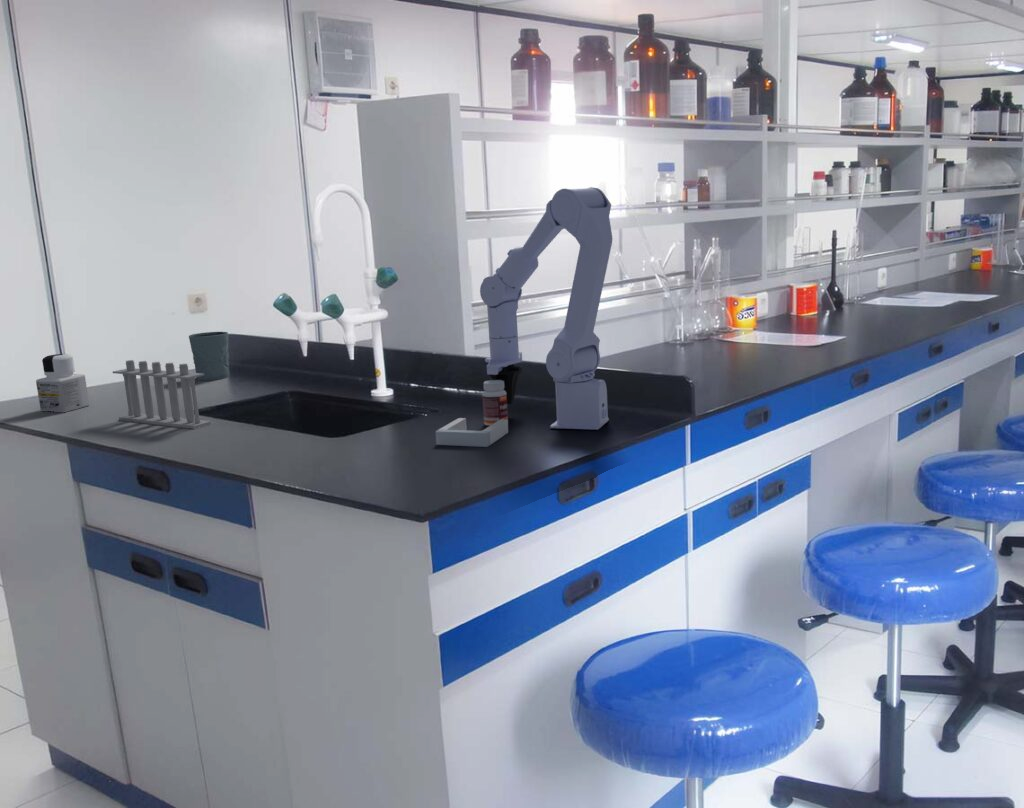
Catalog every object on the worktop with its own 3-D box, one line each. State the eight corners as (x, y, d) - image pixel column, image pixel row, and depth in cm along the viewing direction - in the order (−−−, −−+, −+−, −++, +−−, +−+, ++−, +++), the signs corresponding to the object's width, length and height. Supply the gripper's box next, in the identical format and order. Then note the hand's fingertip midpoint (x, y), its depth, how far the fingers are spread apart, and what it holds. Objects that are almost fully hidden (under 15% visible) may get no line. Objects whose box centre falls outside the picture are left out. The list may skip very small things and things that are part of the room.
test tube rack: (211, 424, 200) (203, 363, 197) (194, 429, 196) (186, 366, 193) (136, 416, 213) (127, 358, 210) (119, 420, 209) (110, 361, 207)
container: (40, 411, 224) (31, 357, 221) (66, 404, 231) (57, 352, 228) (64, 412, 221) (55, 357, 218) (90, 405, 228) (82, 352, 225)
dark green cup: (187, 381, 254) (181, 337, 251) (205, 374, 264) (200, 331, 261) (222, 380, 252) (217, 335, 250) (239, 373, 262) (234, 330, 259)
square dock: (508, 432, 178) (507, 419, 177) (487, 446, 168) (486, 433, 168) (459, 430, 181) (458, 418, 181) (436, 444, 172) (435, 431, 171)
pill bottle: (505, 426, 183) (503, 383, 181) (481, 426, 184) (478, 384, 182) (510, 420, 187) (508, 379, 185) (487, 420, 188) (484, 379, 186)
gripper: (498, 331, 196) (501, 395, 199) (470, 342, 183) (475, 410, 186) (530, 331, 194) (533, 396, 196) (504, 342, 180) (508, 411, 183)
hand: (507, 403), depth 191 cm, fingers closed
